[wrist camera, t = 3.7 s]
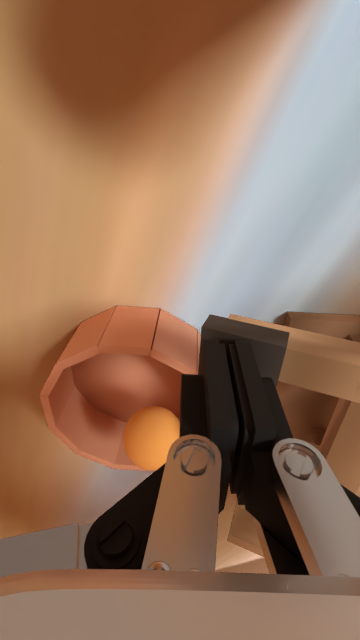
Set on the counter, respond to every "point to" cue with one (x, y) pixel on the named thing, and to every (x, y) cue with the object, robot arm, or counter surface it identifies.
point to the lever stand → (307, 405)
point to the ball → (150, 436)
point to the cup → (117, 378)
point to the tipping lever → (307, 372)
